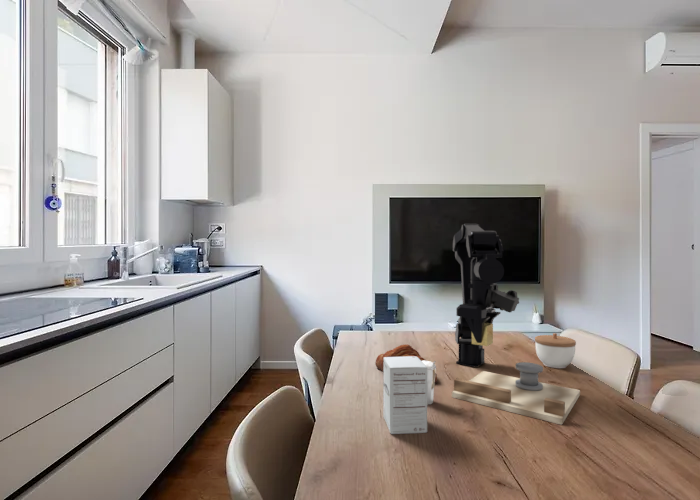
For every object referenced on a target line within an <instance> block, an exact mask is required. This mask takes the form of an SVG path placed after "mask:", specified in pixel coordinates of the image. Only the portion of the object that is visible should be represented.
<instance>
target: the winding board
mask: <svg viewBox="0 0 700 500" xmlns="http://www.w3.org/2000/svg"><path fill="white" fill-rule="evenodd" d="M519 379H520V377H515V376H511V375H506V374H502V373H501V374H499V373H495V372H490V371H486V370H482V371H481V372H479V373H477V375H475V376H474V377H472V378H471V379H469V380H466V379H462V378H458V377H457V378H455V379H453V391H452V392H451V398H455V399H458V400H462V401H466V402H470V403H473V404H477V405H481V406H484V407H485V406H486V407H489V408H493V409H497V410H502V411H506V412H510V413H513V414H517V415H521V416H525V417H528V418H533V419H537V420H542V421H545V422H549V423H553V424H557V425H561V426H562V425H563V424H564V422H565V421H566V420H567V417H568V416H569V414H570V412H571V411H572V409H573V408H574V406H575V404H576V402H577V401H578V399H579V398H580V395H581V390H580V389H576V388H570V387H565V386H562V385H556V384H550V383H547V382H546V383H545V382H540V381H539V382H540V383H542V384H543V389H542V390H540V391H528V390H523V389H520V388H518V387H516V380H519Z"/></svg>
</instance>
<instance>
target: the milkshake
mask: <svg viewBox="0 0 700 500" xmlns="http://www.w3.org/2000/svg"><path fill="white" fill-rule="evenodd" d="M426 360H427V359H425V360H423V361H422V362H423V363H424V364H425V365H426V366H427V405H432V404H433V403H434V394H435V383H434V382H435V373H436V372H437V365H436V364H435V363H436V360H434V361H431V360H430V361H429V360H427V361H426ZM436 374H437V373H436Z"/></svg>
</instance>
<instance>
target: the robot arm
mask: <svg viewBox="0 0 700 500" xmlns="http://www.w3.org/2000/svg"><path fill="white" fill-rule="evenodd" d="M452 239H453V240H452V251H453V252H454V257H455V260H456V261H457V262H458V264H459V265H460V273H461V274H460V276H461V291H462V293H461V294H462V303H461V304H458V306H457V307H456V317H458V319H457V320H458V321H457V323H456V327H455V332H454V335H455V336H454V339H455V343H456V344H457V345H458V360H457V361H455V362H456V364H458V365H463V366H468V367H473V368H478V367H480V366H482V365H483V364H485V362H486V361H485V348H483V347H484V346H482V345H476V344H472V333H473V335H474V337H475V340H476V342H477V343H481V342H482V337H483V330H484V323H491V324H493V322H494V319H495V318H497V317H498V316H499V315H501V311H505V312H507V313H512V312H515V311H516V308H517V306H518V304H520V297H519V296H518V292H517V291H515V290H513V289H510V290H508V291H507V292H505V291H501V290H499V285H498V282H500V281H501V279H502V278H503V277H504V275H505V268H504V266H503V264H502V263H501V261H499V260H498V259H497V258H503V255H504V253H505V252H504V251H505V250H504V248H503V242H502V240H501V239H500V236H499V234H497V231H496V230H484V229H483V228H482V227H481V225H480V224H478V223H464V224H461V228H460V229H459V230H458V231H457V232H455V233H454V235H453V238H452ZM496 309H497V310H498V309H499V310H500V311H496Z"/></svg>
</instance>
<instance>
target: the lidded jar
mask: <svg viewBox="0 0 700 500" xmlns="http://www.w3.org/2000/svg"><path fill="white" fill-rule="evenodd" d="M534 342H535V347H534V348H535V353H536V356H537V357H538V359H539V361H540V362H542V364H543V365H544V366H545V367H547V368H548V367H549V368H553V369H566V368H567V366H569V365H570V364H571V363H572V362H573V360H574V358H575V355H576V354H575V353H576V345H577V341H576V340H575V339H574V338H571V337H567V336H560V335H558V334H557V332H554V333H552V335H550V334H541V335H536V336H535V337H534Z"/></svg>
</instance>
